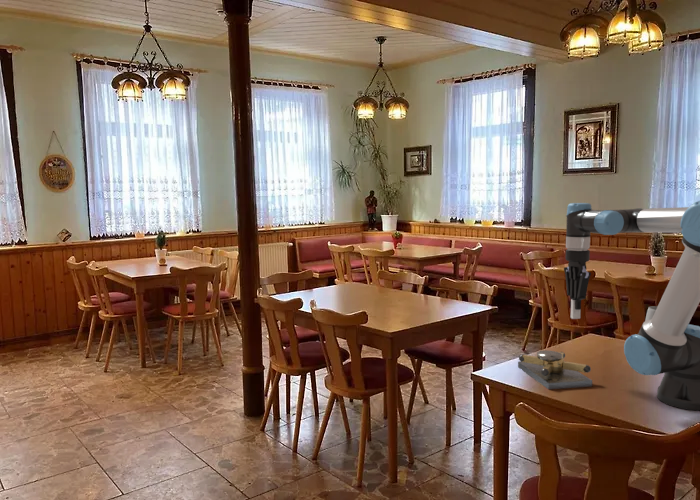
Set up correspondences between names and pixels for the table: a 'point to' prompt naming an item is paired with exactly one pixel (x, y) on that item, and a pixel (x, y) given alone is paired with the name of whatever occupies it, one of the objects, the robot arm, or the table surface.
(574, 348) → the table surface
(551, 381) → the stand
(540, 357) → the capstan
